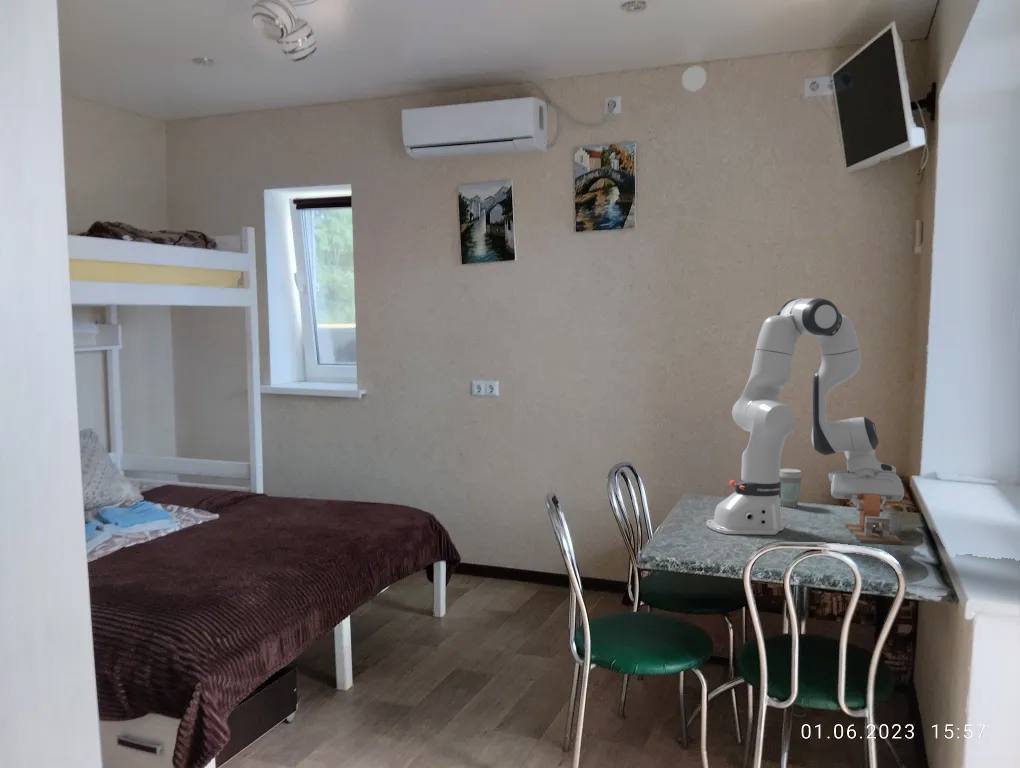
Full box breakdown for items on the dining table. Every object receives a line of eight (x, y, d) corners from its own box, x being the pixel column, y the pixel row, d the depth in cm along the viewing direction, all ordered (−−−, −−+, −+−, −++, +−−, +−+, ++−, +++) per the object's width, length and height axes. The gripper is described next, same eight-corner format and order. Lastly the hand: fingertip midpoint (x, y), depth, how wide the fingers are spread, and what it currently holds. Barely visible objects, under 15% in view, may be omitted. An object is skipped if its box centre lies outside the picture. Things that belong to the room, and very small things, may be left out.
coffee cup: (772, 506, 275) (773, 471, 274) (777, 501, 282) (778, 467, 282) (799, 509, 271) (800, 473, 270) (803, 504, 278) (804, 469, 278)
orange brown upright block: (859, 525, 245) (860, 492, 244) (875, 526, 244) (876, 493, 243) (870, 536, 233) (871, 501, 232) (886, 537, 232) (888, 502, 231)
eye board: (845, 526, 248) (846, 506, 248) (883, 528, 246) (884, 508, 246) (860, 542, 231) (861, 520, 230) (902, 544, 229) (903, 522, 228)
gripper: (829, 464, 250) (835, 502, 241) (901, 467, 246) (909, 506, 237) (825, 476, 254) (831, 514, 245) (895, 478, 251) (904, 517, 242)
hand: (870, 510), depth 241 cm, fingers closed on orange brown upright block, 4 cm apart
